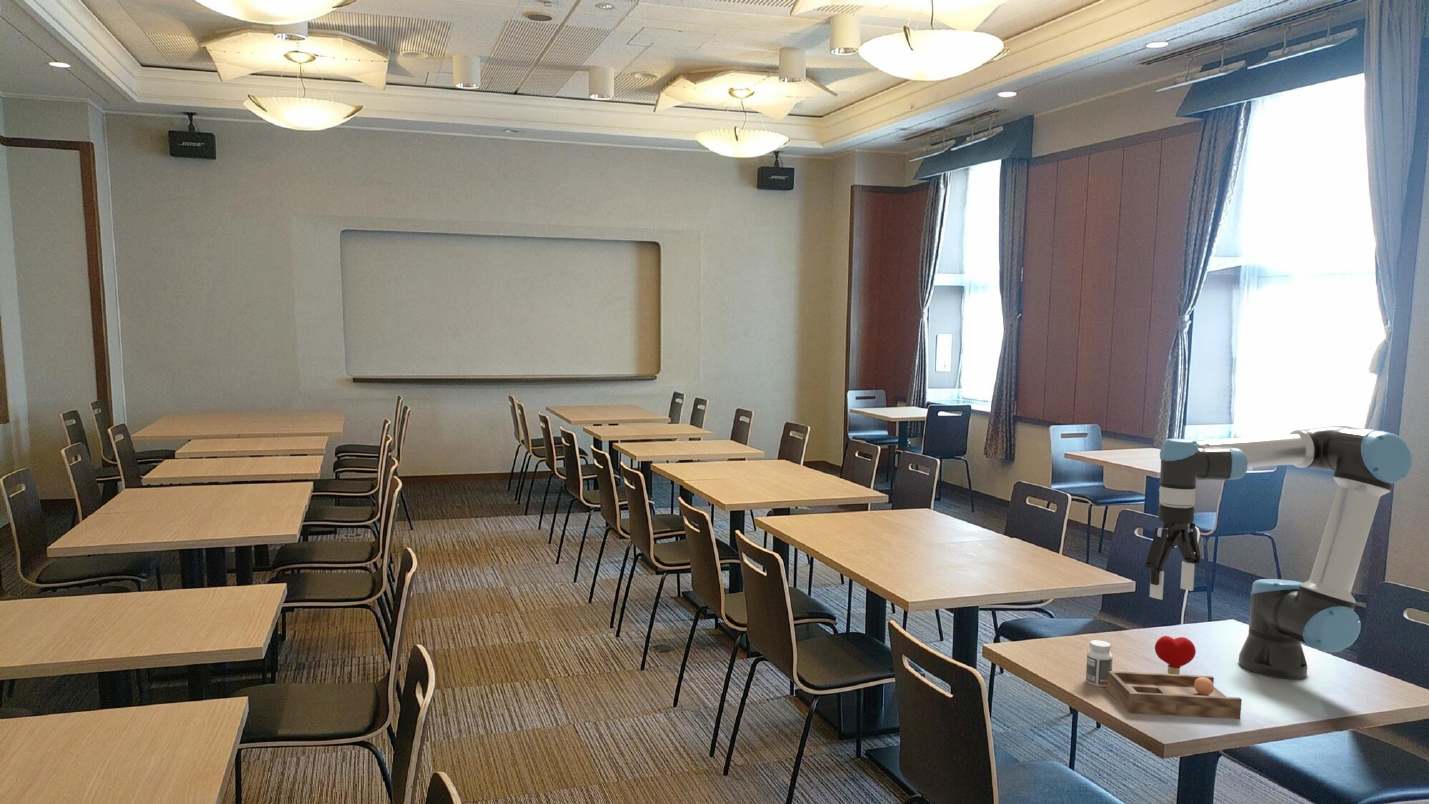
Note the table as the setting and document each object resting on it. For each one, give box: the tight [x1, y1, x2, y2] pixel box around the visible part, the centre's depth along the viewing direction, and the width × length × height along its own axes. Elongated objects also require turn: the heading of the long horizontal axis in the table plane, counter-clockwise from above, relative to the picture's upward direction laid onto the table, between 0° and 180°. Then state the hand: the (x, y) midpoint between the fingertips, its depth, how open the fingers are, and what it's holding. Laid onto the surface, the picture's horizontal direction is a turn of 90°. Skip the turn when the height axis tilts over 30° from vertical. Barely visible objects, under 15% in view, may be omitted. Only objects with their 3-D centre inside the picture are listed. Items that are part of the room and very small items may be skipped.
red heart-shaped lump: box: [1154, 635, 1197, 675], centre depth 230 cm, size 9×7×10 cm
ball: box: [1194, 677, 1215, 695], centre depth 212 cm, size 4×4×4 cm
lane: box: [1106, 670, 1242, 720], centre depth 213 cm, size 24×14×4 cm, turn 86°
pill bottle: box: [1085, 639, 1113, 688], centre depth 224 cm, size 6×6×10 cm
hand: (1171, 593), depth 219 cm, fingers open, 13 cm apart
